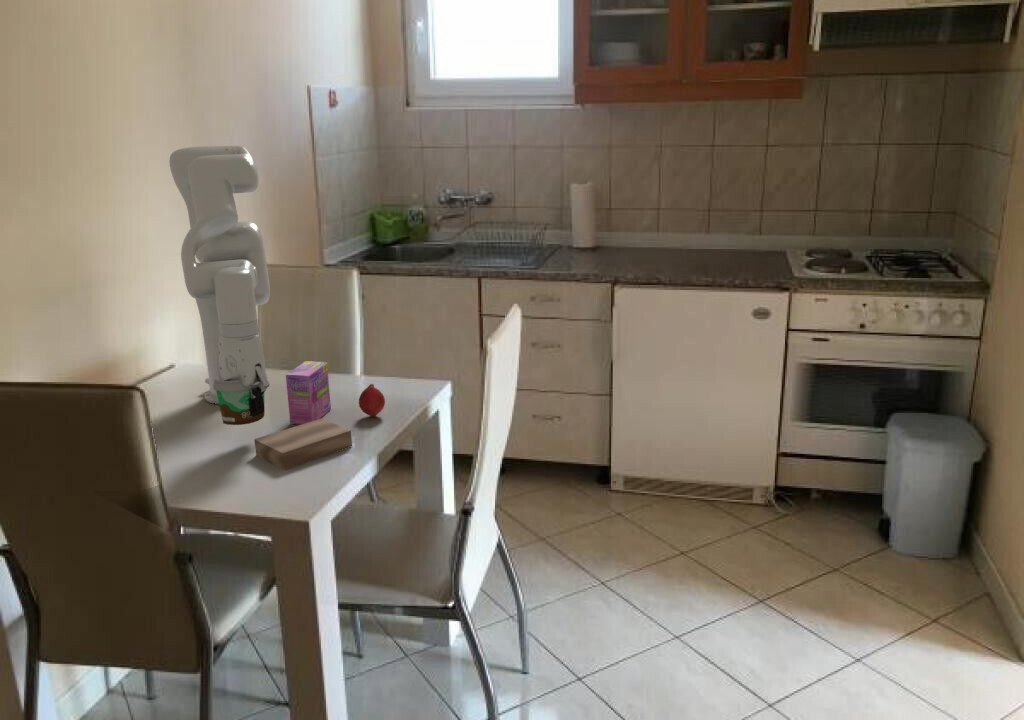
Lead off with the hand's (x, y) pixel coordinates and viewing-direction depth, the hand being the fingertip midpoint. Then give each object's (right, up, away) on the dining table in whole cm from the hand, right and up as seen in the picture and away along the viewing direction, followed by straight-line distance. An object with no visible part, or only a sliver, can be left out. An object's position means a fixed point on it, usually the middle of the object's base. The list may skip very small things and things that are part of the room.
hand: (248, 410), depth 178 cm
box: (+9, -3, +17) cm, 19 cm away
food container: (0, -2, 0) cm, 2 cm away
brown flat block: (+12, -9, -3) cm, 15 cm away
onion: (+24, -3, +16) cm, 28 cm away
